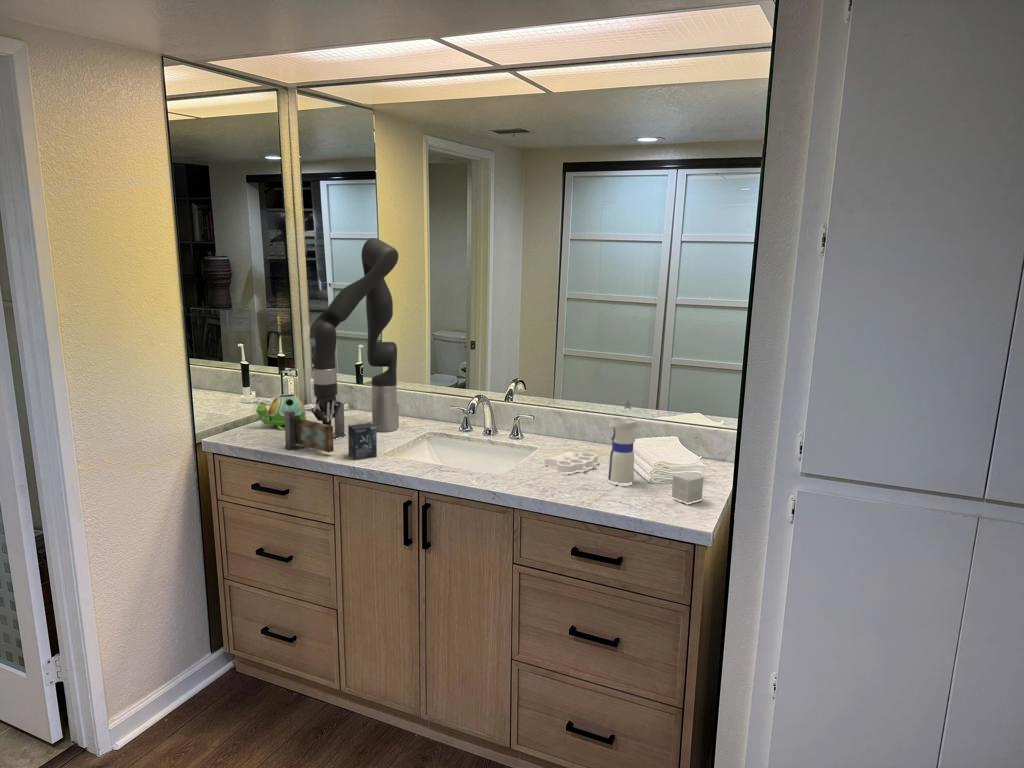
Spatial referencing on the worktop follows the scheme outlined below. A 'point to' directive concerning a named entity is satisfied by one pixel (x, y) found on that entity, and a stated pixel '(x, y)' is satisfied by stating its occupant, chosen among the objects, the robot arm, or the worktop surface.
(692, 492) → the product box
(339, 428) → the gate frame
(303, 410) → the turtle holder
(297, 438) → the gate
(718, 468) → the worktop surface
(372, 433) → the box
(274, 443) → the worktop surface
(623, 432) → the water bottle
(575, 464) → the knuckle duster
